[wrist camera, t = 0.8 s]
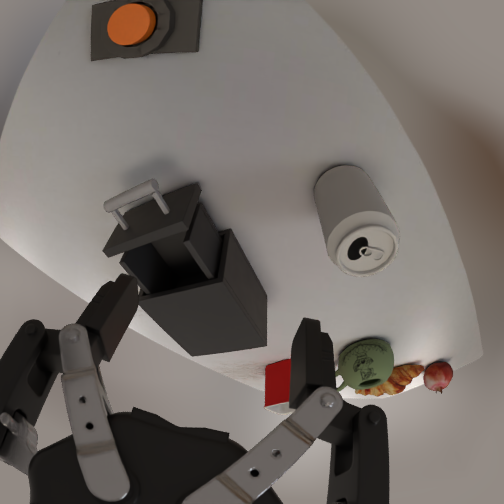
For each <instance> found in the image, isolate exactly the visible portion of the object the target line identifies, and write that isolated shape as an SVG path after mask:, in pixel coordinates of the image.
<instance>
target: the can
mask: <svg viewBox="0 0 504 504" xmlns="http://www.w3.org/2000/svg"><path fill="white" fill-rule="evenodd" d="M314 199H315V203H316V207H317V211H318V215H319V219H320V223H321V227H322V231H323V235H324V239H325V244H326V248H327V252H328V256H329V257H330V259H331V260H332V262H333V263H334V264H336V265H337V266H339V268H340V269H341V270H342V271H343V272H345V273H346V274H348V275H352V276H355V277H365V276H370V275H374V274H376V273H378V272H380V271H382V270H384V269H385V268H386V267H388V266H389V265H390V264H391V263H392V261H393V260H394V259H395V257H396V255H397V252H398V246H399V233H400V231H399V228H398V226H397V223H396V221H395V219H394V218H393V216H392V214H391V212H390V210H389V209H388V207H387V205H386V204H385V202H384V200H383V198H382V197H381V195H380V193H379V192H378V190H377V188H376V187H375V185H374V184H373V182H372V180H371V179H370V177H369V176H368V175H367V174H366V173H365V172H364V171H363V170H362V169H359V168H357V167H355V166H348V165H343V166H338V167H334V168H332V169H330V170H329V171H327V172H325V173H324V174H323V175H322V176H321V177H320V178H319V180H318V182H317V184H316V186H315V190H314Z"/></svg>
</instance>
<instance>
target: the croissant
mask: <svg viewBox="0 0 504 504" xmlns="http://www.w3.org/2000/svg"><path fill="white" fill-rule="evenodd" d="M424 370H425V369H424V366H422V365H403V366H400V367H396V368H393V371H392V374H391V375H390V377H389V378H388V380H387V381H386V382H384V383H383V384H381V385H379V386H376V387H373V388H370V389H363V390H357V389H355V393H356V394H358V393H359V394H362V395H365V396H366V395H368V394H370V395H375V396H380V395H383V393H387V394H389V395H393V394H398V393H400V392H402V391H403V390H404V389H405V387H406V385H408V384H410V383H411V381H412V379H413V378H415V377H417V376H418V375H419V374H420V373H421V372H422V371H424Z"/></svg>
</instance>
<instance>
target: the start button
mask: <svg viewBox="0 0 504 504" xmlns="http://www.w3.org/2000/svg"><path fill="white" fill-rule="evenodd" d="M155 25H156V17H155V14H154V12H153V11H152V10H151V9H150V8H149V7H147V6H145V5H140V4H126V5H124V6H122V7H120V8H118V9H117V10H116V11H115V12H114V13H113V14H112V16H111V17H110V19H109V22H108V26H107V31H108V35H109V37H110V38H111V40H112V41H113V42H115V43H117V44H119V45H132V44H137V43H140V42H142V41H144V40H146V39H147V38H148V37H149V36H150V35H151V34H152V32H153V30H154V28H155Z"/></svg>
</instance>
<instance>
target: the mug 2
mask: <svg viewBox="0 0 504 504" xmlns="http://www.w3.org/2000/svg"><path fill="white" fill-rule="evenodd" d="M393 366H394V355H393V351H392V348H391V346H390V344H389V343H387V342H385V341H383V340H378V339H368V340H363V341H360V342H356V343H354V344H352V345H350V346H349V347H347V348H346V349H345V350H344V351H343V352H342V353H341V354H340V356H339V362H338V370H337V371H335V377H337V376H338V375H341V376H342V378H343V380H344V382H343V383H342V384H341V385H340V387H338V388H336V389H337V391H341V390H342V389H344V388H345V387H346V386H347V385H348V386H349V387H351V388H353V389H357V390H363V389H370V388H373V387H376V386H379V385H381V384H383V383H384V382H386V381H387V380H388V378H389V377H390V375H391V374H392V371H393Z"/></svg>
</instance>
